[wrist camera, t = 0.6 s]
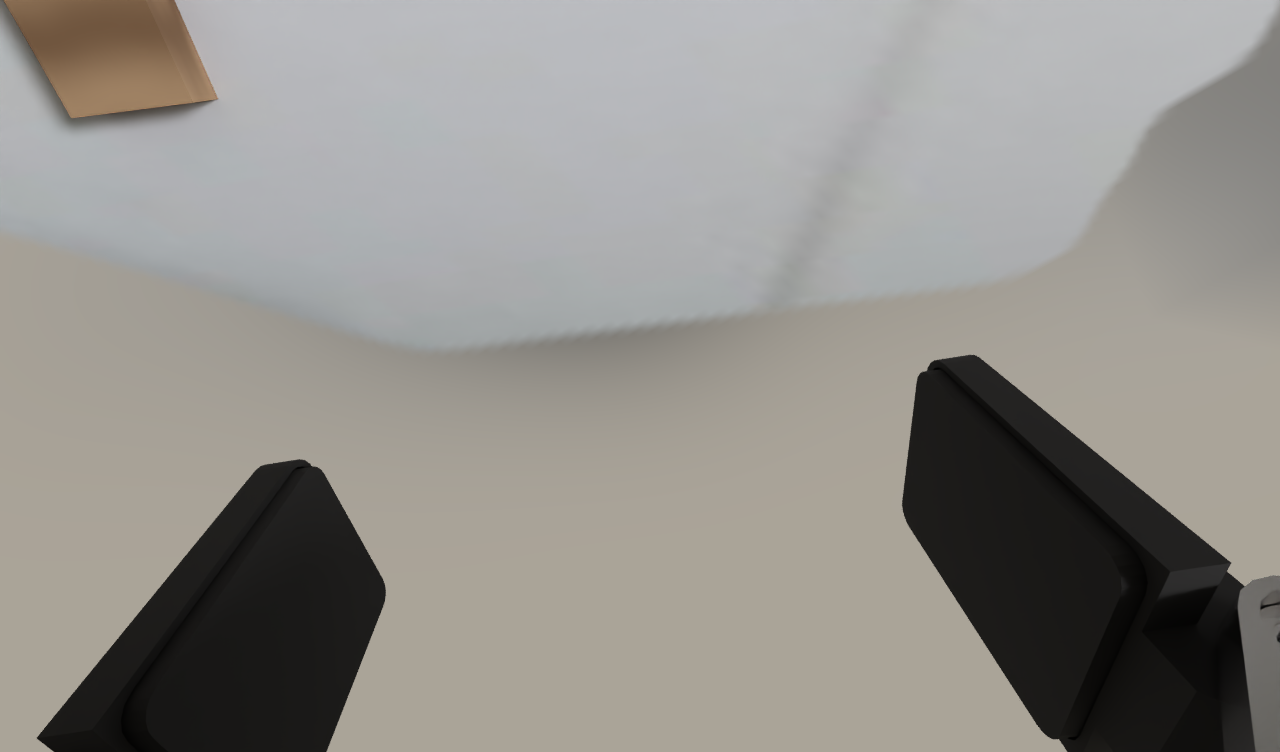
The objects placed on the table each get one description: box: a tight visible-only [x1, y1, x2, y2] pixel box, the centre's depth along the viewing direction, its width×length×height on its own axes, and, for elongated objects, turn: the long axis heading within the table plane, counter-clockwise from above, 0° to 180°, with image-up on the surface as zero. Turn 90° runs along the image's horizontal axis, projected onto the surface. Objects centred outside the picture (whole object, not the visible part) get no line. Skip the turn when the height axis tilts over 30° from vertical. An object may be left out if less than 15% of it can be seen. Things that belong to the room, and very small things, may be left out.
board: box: [4, 0, 218, 118], centre depth 27 cm, size 8×6×2 cm
